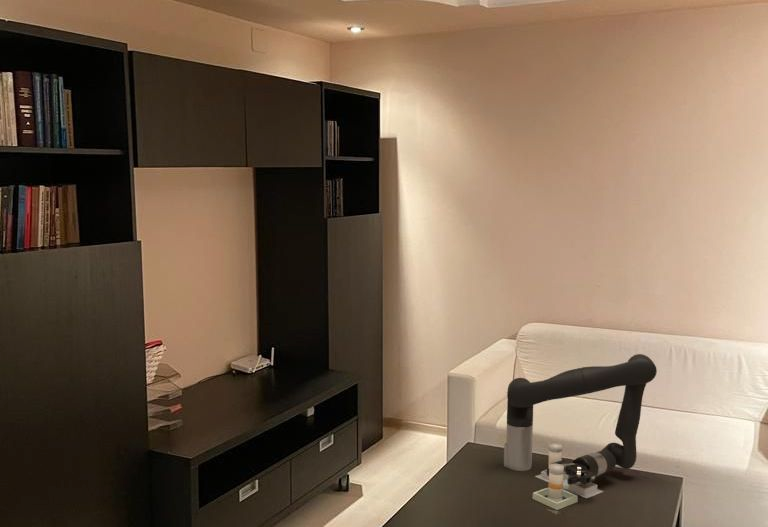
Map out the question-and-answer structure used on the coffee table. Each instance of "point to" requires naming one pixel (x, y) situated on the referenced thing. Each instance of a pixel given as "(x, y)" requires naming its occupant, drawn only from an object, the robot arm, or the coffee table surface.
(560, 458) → the cylinder
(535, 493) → the tray
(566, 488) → the fuse board
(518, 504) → the coffee table surface
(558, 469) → the cylinder
